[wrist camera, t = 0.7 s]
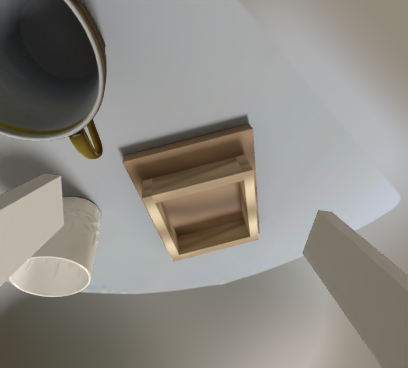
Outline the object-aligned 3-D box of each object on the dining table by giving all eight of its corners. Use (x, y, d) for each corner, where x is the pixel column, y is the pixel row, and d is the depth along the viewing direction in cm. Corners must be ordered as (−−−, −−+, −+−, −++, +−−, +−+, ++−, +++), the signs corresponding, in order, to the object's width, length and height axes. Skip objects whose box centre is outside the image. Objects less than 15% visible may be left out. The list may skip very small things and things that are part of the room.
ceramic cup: (-37, -7, 18) (-188, -18, 10) (79, -59, 17) (14, -115, 9) (73, 135, 26) (36, 191, 18) (155, 104, 25) (153, 147, 17)
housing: (123, 155, 28) (118, 179, 24) (248, 123, 28) (263, 142, 24) (170, 249, 41) (171, 274, 37) (256, 226, 41) (267, 249, 37)
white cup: (104, 233, 36) (90, 296, 28) (47, 230, 34) (14, 297, 26) (107, 196, 32) (90, 257, 24) (41, 188, 29) (-1, 254, 22)
